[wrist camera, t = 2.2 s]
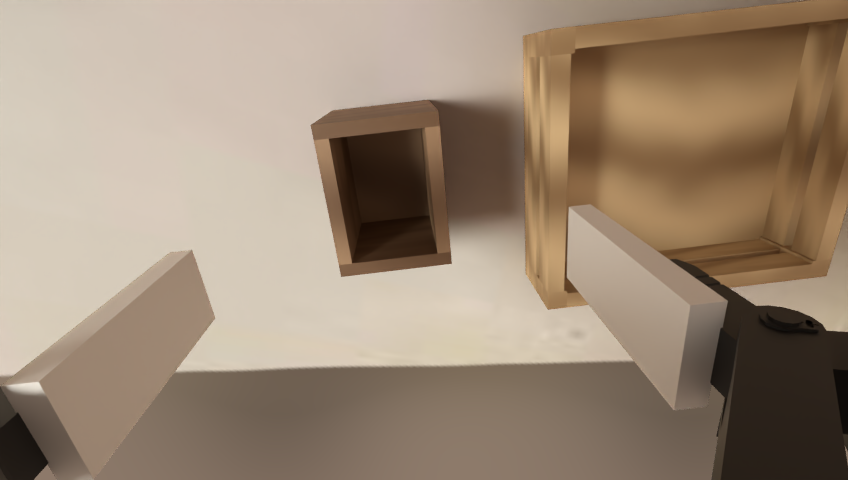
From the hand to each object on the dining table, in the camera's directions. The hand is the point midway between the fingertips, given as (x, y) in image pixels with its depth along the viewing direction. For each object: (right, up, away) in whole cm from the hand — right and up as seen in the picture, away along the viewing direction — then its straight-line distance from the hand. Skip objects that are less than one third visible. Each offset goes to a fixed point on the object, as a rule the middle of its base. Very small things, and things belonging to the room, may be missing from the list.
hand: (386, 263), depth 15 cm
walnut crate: (-1, +6, +13) cm, 14 cm away
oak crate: (+17, +7, +13) cm, 23 cm away
